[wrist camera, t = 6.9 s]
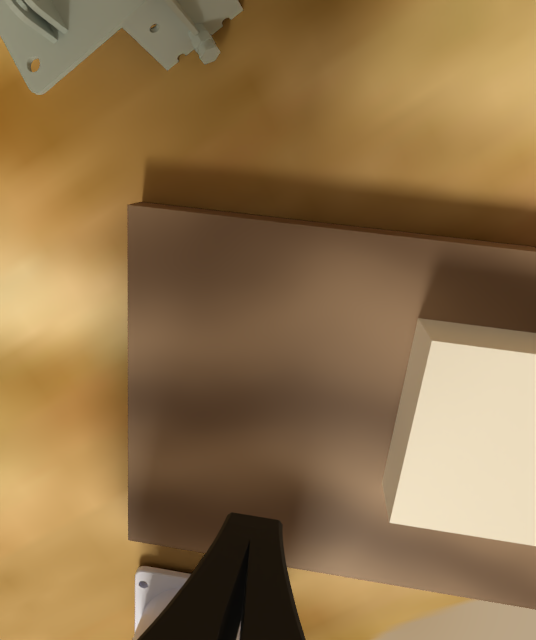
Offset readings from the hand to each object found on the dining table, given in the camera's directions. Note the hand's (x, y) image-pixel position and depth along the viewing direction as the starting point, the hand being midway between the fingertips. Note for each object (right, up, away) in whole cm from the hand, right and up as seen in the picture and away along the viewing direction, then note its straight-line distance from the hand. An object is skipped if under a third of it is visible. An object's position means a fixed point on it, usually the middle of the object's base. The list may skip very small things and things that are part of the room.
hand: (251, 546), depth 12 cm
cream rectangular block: (+9, +2, +8) cm, 12 cm away
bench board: (+6, +1, +10) cm, 12 cm away
